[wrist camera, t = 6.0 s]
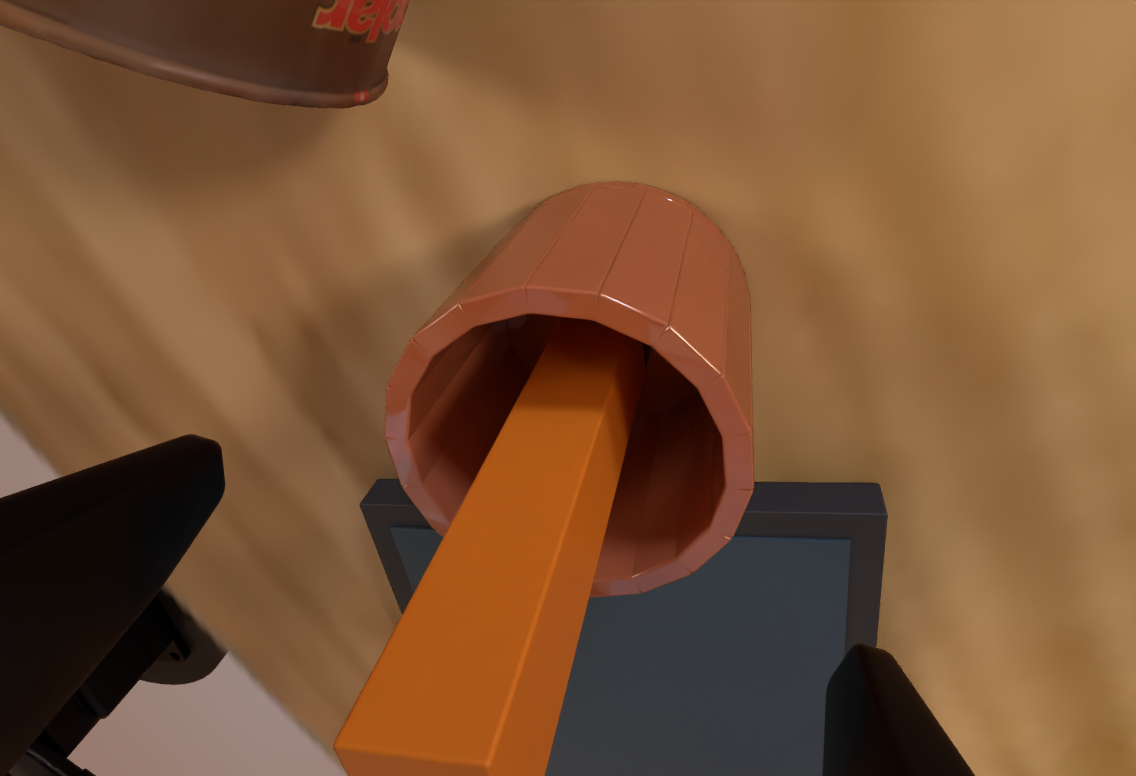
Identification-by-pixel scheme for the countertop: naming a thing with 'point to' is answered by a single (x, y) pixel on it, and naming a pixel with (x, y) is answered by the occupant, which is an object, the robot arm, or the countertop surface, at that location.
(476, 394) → the pen cup
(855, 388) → the countertop surface
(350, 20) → the tin
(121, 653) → the robot arm
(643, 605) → the tablet
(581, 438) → the stylus
